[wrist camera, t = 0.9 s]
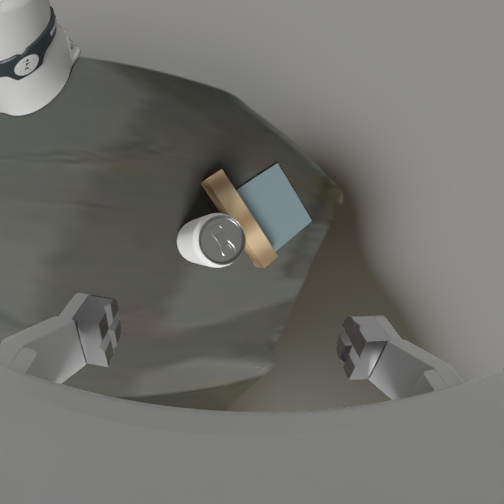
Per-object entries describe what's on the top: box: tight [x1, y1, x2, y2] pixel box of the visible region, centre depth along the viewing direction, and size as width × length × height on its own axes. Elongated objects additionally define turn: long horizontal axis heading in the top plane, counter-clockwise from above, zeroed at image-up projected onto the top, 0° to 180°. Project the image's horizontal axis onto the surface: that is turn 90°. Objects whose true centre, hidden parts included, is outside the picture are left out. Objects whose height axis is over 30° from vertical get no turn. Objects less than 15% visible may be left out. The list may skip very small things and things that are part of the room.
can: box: [177, 213, 246, 268], centre depth 38 cm, size 6×6×12 cm
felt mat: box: [236, 163, 312, 251], centre depth 49 cm, size 12×10×1 cm
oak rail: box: [201, 169, 278, 268], centre depth 45 cm, size 16×3×3 cm, turn 35°
